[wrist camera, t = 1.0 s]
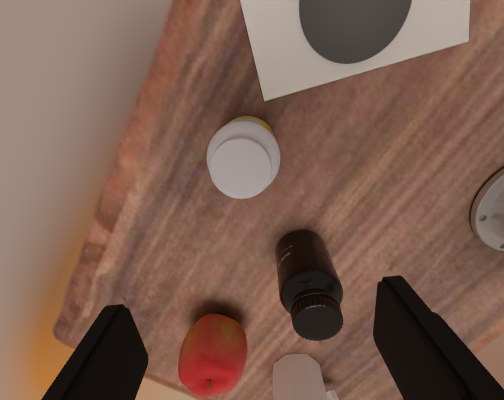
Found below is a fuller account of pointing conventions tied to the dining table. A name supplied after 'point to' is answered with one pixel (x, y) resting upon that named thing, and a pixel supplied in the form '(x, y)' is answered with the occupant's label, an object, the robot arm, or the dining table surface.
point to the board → (323, 71)
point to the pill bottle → (243, 157)
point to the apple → (213, 355)
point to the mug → (299, 379)
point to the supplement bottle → (309, 286)
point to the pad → (351, 26)
